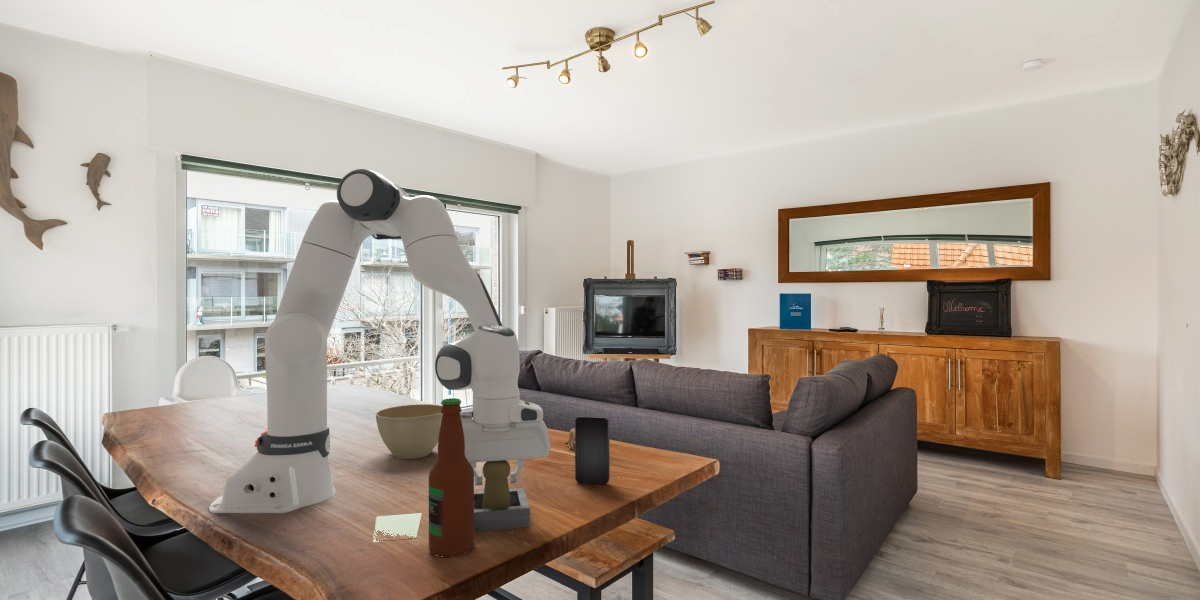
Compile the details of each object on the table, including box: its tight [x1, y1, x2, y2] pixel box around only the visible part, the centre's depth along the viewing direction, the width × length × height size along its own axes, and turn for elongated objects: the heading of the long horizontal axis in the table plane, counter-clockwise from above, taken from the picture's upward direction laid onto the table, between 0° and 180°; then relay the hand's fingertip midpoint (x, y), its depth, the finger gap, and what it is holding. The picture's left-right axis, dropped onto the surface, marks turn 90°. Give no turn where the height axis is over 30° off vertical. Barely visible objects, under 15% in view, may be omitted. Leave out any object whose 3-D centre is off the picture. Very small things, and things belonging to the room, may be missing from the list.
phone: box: [574, 415, 611, 486], centre depth 128 cm, size 8×1×15 cm, turn 78°
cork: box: [482, 460, 511, 509], centre depth 108 cm, size 6×6×11 cm
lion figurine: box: [564, 427, 575, 450], centre depth 157 cm, size 12×4×7 cm, turn 44°
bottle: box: [428, 397, 475, 558], centre depth 94 cm, size 7×7×25 cm
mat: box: [372, 512, 423, 543], centre depth 102 cm, size 12×12×1 cm
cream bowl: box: [375, 403, 443, 460], centre depth 151 cm, size 18×18×12 cm
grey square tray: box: [474, 487, 531, 532], centre depth 108 cm, size 11×11×4 cm
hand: (496, 483), depth 108 cm, fingers open, 5 cm apart
